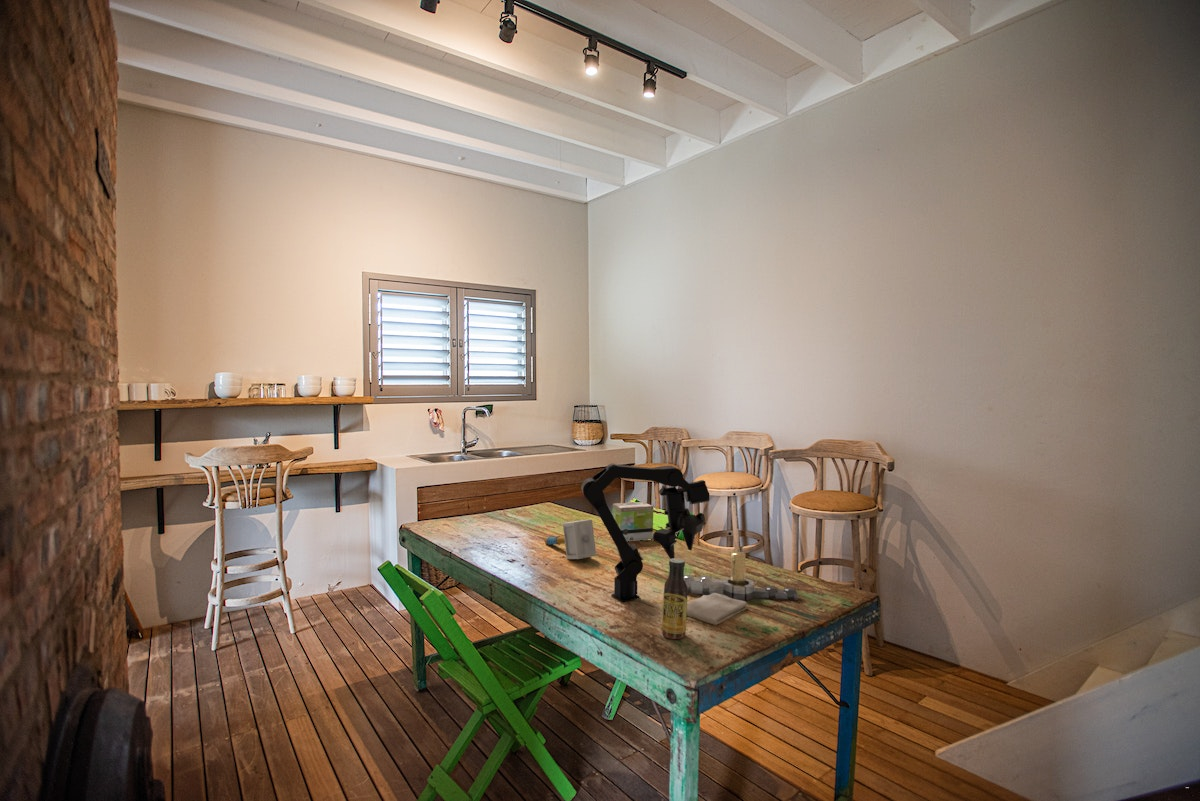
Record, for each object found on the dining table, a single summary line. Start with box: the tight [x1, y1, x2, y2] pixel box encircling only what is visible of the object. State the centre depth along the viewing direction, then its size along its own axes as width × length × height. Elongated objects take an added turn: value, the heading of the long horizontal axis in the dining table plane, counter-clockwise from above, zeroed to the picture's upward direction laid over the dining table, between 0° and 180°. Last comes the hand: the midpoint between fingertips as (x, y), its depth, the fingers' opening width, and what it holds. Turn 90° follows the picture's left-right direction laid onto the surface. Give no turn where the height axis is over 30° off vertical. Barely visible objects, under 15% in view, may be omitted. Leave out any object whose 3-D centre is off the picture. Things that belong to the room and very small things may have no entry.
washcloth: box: [686, 593, 748, 626], centre depth 169 cm, size 12×18×3 cm, turn 137°
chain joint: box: [684, 574, 799, 602], centre depth 182 cm, size 35×9×5 cm, turn 80°
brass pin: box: [730, 551, 746, 586], centre depth 182 cm, size 4×4×13 cm
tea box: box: [611, 501, 654, 543], centre depth 248 cm, size 15×10×15 cm, turn 111°
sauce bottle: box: [661, 557, 688, 640], centre depth 152 cm, size 7×6×20 cm
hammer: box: [544, 518, 598, 560], centre depth 228 cm, size 8×13×30 cm
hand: (681, 554), depth 183 cm, fingers open, 9 cm apart
